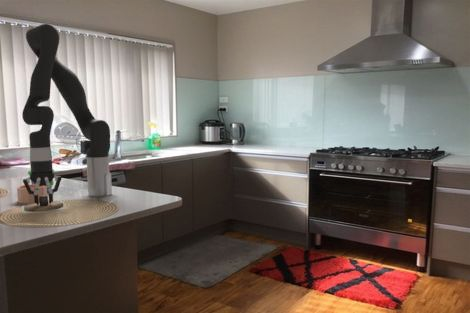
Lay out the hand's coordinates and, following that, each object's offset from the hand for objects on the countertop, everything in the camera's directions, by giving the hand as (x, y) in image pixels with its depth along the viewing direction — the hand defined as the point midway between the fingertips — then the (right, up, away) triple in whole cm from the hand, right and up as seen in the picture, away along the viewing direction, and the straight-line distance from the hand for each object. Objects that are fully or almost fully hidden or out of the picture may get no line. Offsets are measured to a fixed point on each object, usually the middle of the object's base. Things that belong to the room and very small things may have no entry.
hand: (43, 203), depth 159 cm
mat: (0, -2, 0) cm, 2 cm away
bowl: (-10, -1, +13) cm, 16 cm away
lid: (0, -1, 0) cm, 1 cm away
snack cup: (-16, +1, +34) cm, 38 cm away
